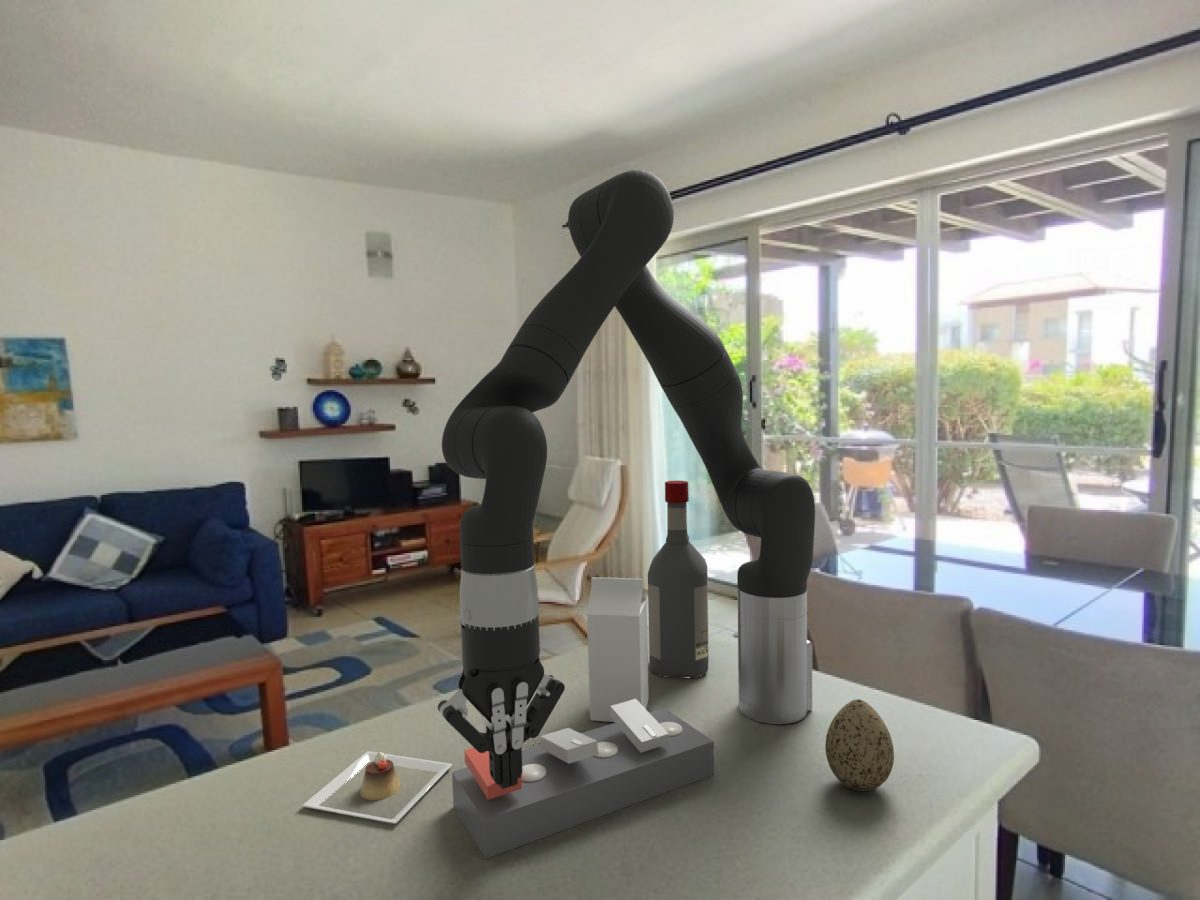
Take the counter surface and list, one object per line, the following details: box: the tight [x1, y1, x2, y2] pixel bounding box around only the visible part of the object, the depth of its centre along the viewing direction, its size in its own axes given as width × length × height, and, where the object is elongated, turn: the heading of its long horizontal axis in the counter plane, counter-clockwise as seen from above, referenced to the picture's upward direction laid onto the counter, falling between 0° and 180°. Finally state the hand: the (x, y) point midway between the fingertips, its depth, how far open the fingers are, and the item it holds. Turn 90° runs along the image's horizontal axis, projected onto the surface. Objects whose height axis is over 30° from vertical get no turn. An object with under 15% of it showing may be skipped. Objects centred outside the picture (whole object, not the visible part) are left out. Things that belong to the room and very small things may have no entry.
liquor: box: [647, 480, 710, 679], centre depth 112 cm, size 9×9×30 cm
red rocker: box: [464, 747, 522, 800], centre depth 73 cm, size 4×7×2 cm, turn 30°
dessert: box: [301, 750, 453, 825], centre depth 81 cm, size 12×12×5 cm
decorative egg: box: [825, 698, 895, 792], centre depth 78 cm, size 7×7×10 cm
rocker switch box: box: [451, 707, 715, 860], centre depth 79 cm, size 28×10×4 cm, turn 120°
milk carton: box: [586, 576, 650, 723], centre depth 97 cm, size 7×7×19 cm
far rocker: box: [610, 699, 669, 753], centre depth 82 cm, size 4×7×2 cm, turn 30°
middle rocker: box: [539, 727, 599, 764], centre depth 78 cm, size 4×7×2 cm, turn 30°
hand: (506, 783), depth 70 cm, fingers closed
